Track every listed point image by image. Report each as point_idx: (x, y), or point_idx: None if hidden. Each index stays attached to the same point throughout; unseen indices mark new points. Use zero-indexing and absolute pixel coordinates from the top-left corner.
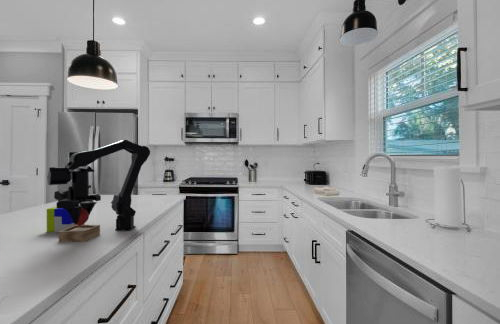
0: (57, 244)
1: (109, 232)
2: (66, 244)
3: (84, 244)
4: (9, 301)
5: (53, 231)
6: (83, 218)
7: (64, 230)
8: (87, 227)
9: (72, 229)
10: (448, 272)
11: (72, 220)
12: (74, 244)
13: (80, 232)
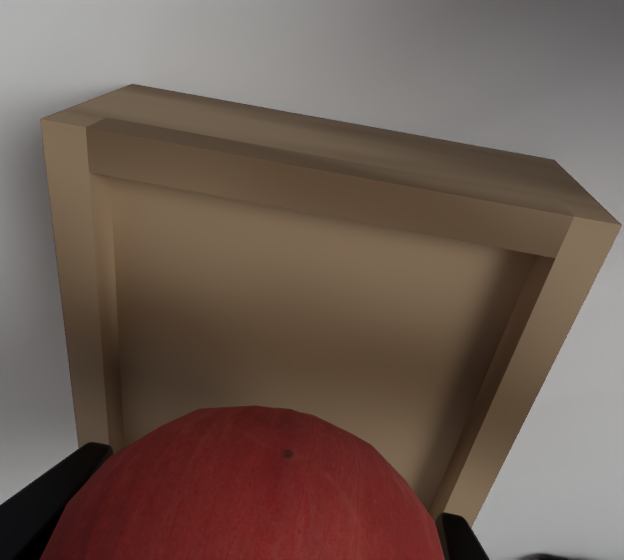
0: (3, 146)
1: (479, 520)
2: (22, 258)
3: (50, 422)
4: None
5: None
6: None
7: (155, 180)
8: (458, 412)
9: (357, 230)
10: None
11: (158, 428)
12: (36, 339)
13: (84, 444)
